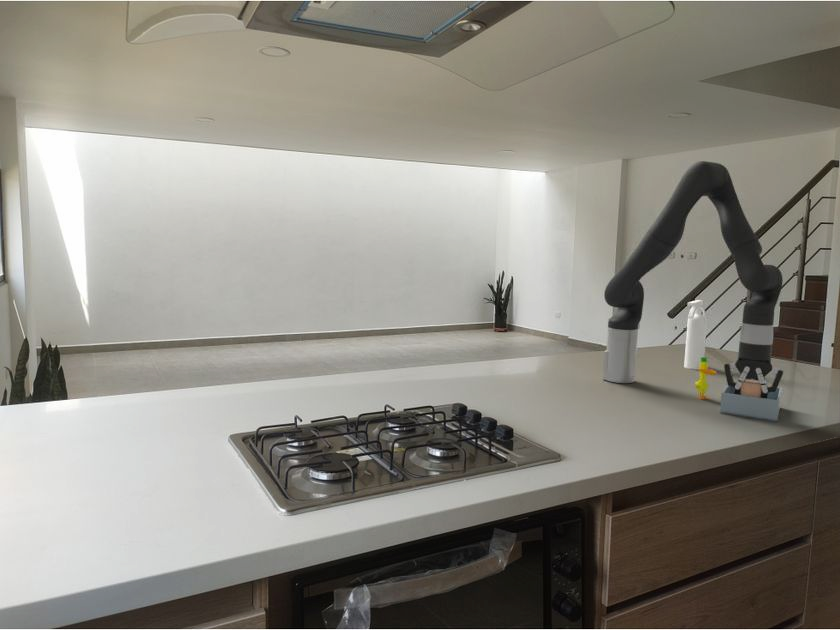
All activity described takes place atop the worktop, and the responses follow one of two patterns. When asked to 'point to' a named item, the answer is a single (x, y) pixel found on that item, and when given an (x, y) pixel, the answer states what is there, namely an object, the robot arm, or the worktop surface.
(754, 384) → the brown egg
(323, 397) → the worktop surface
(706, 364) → the toy figure
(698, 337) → the white spray bottle
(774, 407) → the tote
